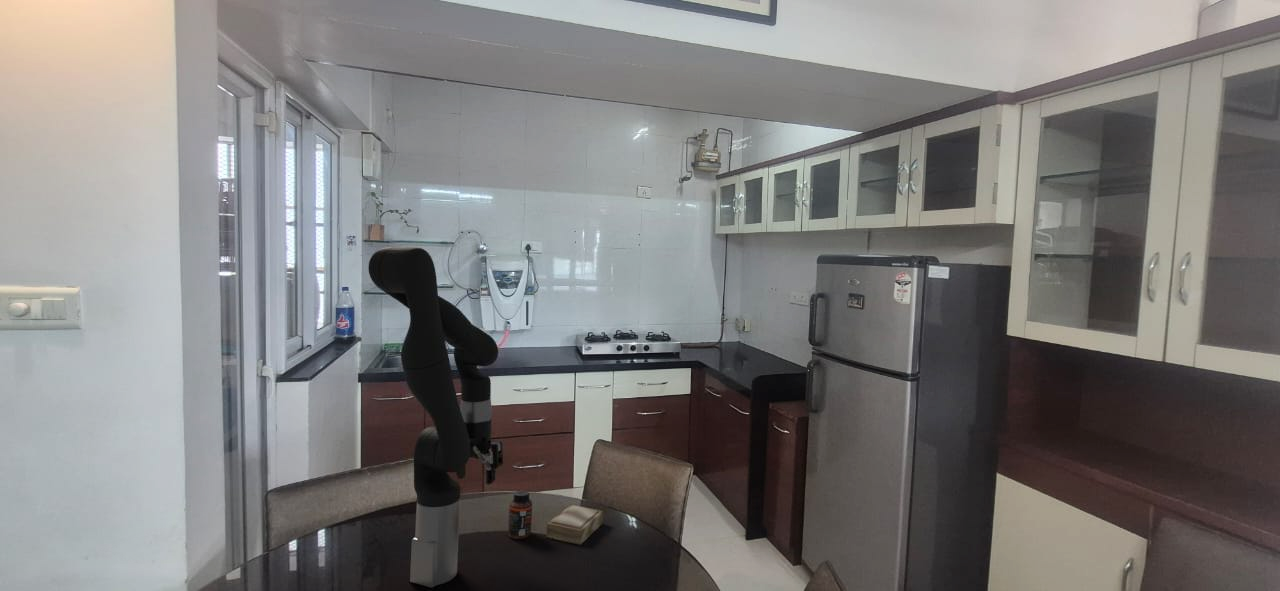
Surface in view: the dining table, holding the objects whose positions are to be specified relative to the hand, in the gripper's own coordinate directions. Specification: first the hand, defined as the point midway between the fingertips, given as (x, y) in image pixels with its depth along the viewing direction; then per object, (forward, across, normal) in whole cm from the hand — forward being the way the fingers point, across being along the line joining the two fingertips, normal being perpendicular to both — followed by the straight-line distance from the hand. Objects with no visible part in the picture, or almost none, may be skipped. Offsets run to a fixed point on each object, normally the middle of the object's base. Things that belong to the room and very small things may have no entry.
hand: (475, 480), depth 132 cm
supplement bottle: (+18, +6, +10) cm, 22 cm away
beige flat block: (+19, +18, +19) cm, 32 cm away
